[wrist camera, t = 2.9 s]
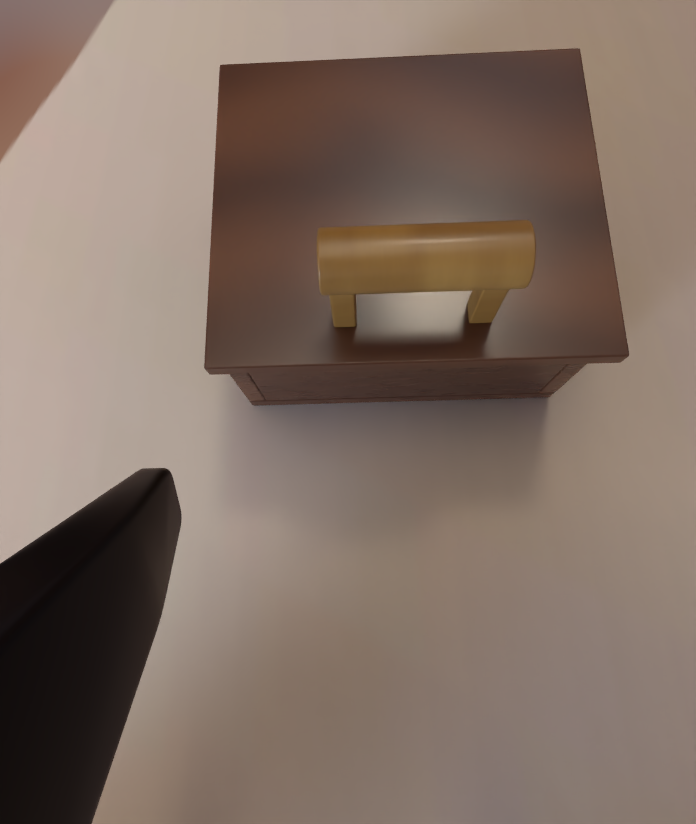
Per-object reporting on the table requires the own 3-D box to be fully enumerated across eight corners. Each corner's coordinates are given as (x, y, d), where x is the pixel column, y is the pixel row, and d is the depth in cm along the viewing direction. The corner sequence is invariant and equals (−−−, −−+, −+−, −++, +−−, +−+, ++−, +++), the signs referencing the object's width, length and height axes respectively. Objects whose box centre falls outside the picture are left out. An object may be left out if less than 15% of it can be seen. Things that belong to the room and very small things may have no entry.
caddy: (550, 397, 23) (616, 338, 17) (252, 406, 23) (210, 351, 17) (524, 182, 25) (573, 63, 19) (257, 192, 26) (224, 79, 20)
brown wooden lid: (621, 363, 16) (715, 290, 12) (209, 375, 17) (152, 309, 12) (574, 62, 19) (635, -86, 15) (223, 78, 20) (181, -62, 15)
